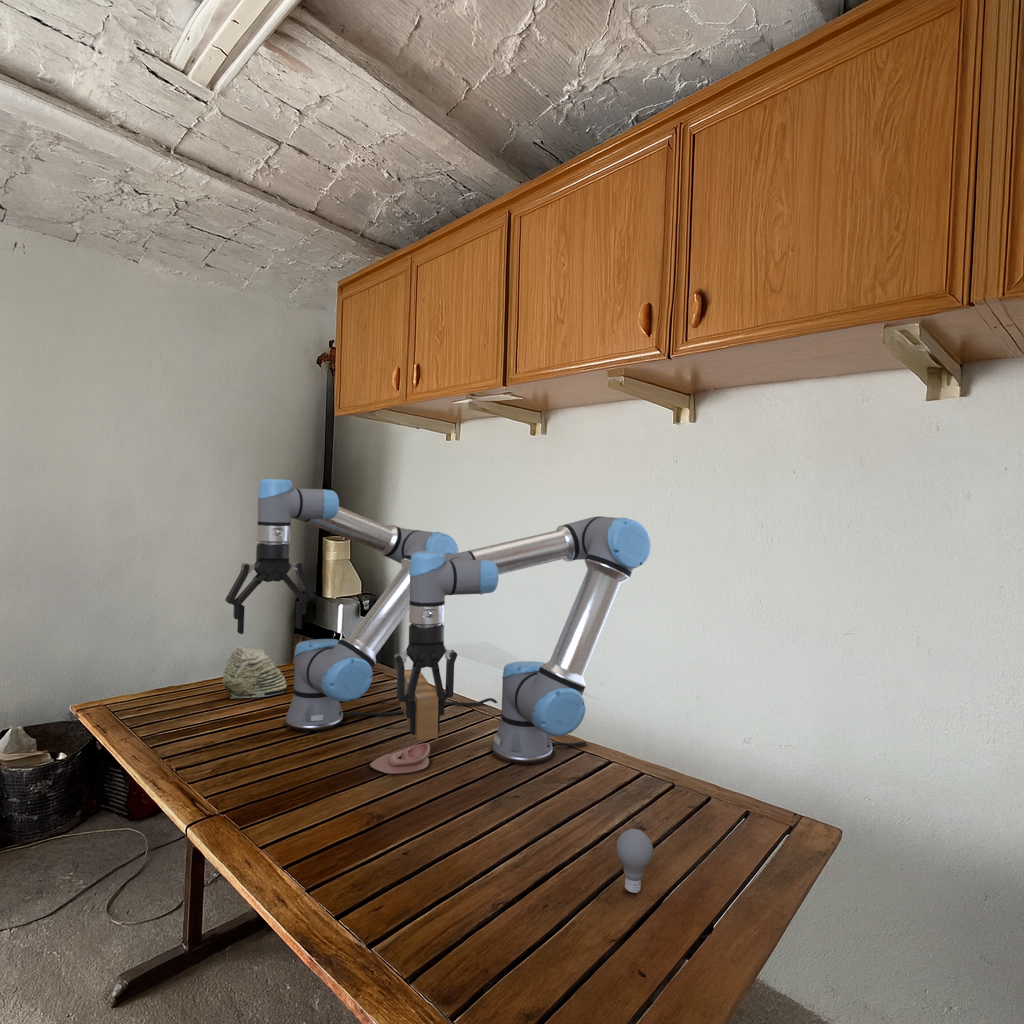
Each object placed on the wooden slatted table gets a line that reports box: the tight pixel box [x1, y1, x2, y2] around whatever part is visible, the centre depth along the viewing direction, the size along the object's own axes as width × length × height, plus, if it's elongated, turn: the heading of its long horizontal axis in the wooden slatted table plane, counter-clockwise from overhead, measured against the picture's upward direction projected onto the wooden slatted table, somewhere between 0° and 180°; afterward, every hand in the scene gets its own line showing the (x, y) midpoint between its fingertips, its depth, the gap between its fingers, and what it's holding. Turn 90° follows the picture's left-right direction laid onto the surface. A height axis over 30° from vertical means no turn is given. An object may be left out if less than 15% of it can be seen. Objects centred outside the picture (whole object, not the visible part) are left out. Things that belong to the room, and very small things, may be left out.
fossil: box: [222, 646, 288, 699], centre depth 198 cm, size 9×18×15 cm, turn 132°
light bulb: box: [615, 828, 654, 894], centre depth 106 cm, size 6×6×10 cm
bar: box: [399, 668, 439, 741], centre depth 144 cm, size 22×4×9 cm, turn 19°
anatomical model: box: [369, 742, 431, 775], centre depth 151 cm, size 13×4×12 cm
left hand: (270, 630), depth 153 cm, fingers open, 13 cm apart
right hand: (424, 730), depth 137 cm, fingers closed on bar, 4 cm apart
